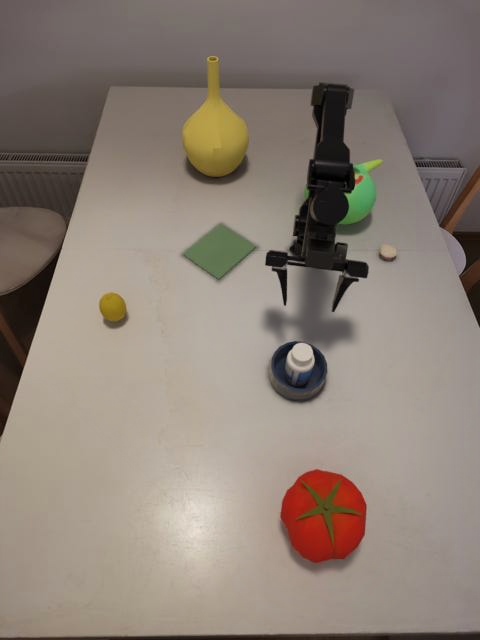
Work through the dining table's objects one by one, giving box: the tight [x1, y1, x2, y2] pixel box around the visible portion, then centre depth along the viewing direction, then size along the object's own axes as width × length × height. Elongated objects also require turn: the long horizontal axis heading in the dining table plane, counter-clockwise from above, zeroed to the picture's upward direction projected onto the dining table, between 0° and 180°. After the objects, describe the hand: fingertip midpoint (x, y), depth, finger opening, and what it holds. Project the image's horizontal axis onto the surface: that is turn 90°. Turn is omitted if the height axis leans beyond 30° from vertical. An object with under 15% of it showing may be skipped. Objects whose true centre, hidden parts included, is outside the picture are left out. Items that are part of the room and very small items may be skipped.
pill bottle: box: [284, 342, 315, 386], centre depth 85 cm, size 6×5×10 cm
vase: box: [181, 55, 250, 178], centre depth 114 cm, size 18×18×30 cm
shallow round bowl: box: [269, 340, 328, 401], centre depth 88 cm, size 11×11×4 cm
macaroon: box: [379, 243, 398, 261], centre depth 107 cm, size 4×5×2 cm
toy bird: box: [304, 158, 384, 225], centre depth 110 cm, size 18×17×15 cm
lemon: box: [98, 292, 127, 322], centre depth 93 cm, size 6×6×8 cm
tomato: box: [279, 468, 368, 564], centre depth 70 cm, size 13×14×12 cm
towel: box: [182, 223, 257, 281], centre depth 108 cm, size 14×12×1 cm
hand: (308, 308), depth 82 cm, fingers open, 9 cm apart
